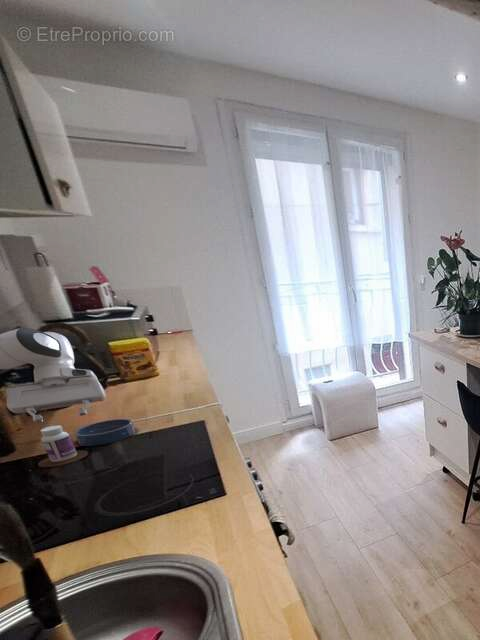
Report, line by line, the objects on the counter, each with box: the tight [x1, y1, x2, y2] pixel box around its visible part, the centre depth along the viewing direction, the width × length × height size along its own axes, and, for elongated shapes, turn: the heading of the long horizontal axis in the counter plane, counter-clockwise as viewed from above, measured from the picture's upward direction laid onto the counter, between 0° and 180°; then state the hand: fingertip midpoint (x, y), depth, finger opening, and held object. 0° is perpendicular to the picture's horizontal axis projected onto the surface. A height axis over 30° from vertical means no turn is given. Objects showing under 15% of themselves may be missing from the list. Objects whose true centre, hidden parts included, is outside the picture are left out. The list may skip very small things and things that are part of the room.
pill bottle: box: [40, 425, 77, 462], centre depth 117 cm, size 5×5×10 cm
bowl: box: [74, 418, 137, 447], centre depth 132 cm, size 13×13×4 cm
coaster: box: [37, 449, 89, 468], centre depth 119 cm, size 10×10×1 cm
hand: (61, 417), depth 125 cm, fingers open, 8 cm apart
